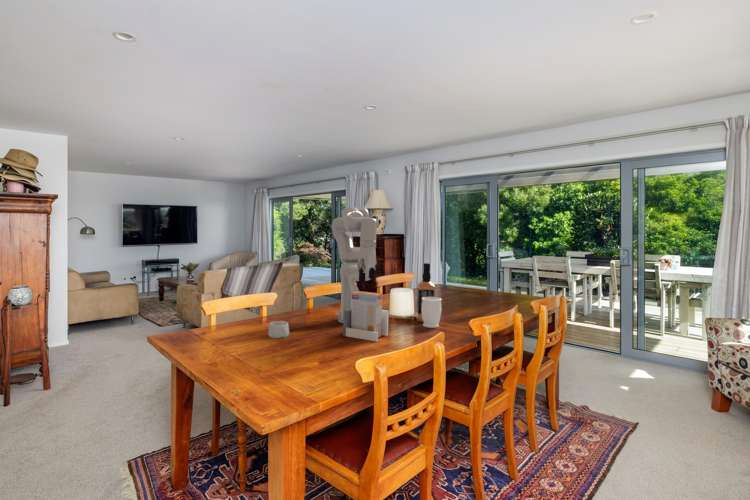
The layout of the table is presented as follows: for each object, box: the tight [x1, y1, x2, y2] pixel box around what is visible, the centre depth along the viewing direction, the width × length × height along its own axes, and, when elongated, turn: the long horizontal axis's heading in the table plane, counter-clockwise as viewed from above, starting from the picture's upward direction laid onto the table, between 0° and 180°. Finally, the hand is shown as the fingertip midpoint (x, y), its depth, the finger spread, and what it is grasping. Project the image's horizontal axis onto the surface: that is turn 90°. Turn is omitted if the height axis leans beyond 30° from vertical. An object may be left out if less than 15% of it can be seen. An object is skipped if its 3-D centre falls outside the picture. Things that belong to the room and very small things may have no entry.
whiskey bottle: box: [415, 262, 436, 322], centre depth 229 cm, size 10×10×32 cm
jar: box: [421, 296, 442, 329], centre depth 214 cm, size 11×10×15 cm
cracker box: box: [351, 290, 383, 339], centre depth 193 cm, size 14×6×21 cm, turn 60°
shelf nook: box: [342, 309, 389, 342], centre depth 194 cm, size 18×12×12 cm, turn 63°
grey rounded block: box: [267, 320, 290, 339], centre depth 190 cm, size 12×10×6 cm
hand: (367, 279), depth 192 cm, fingers open, 9 cm apart
